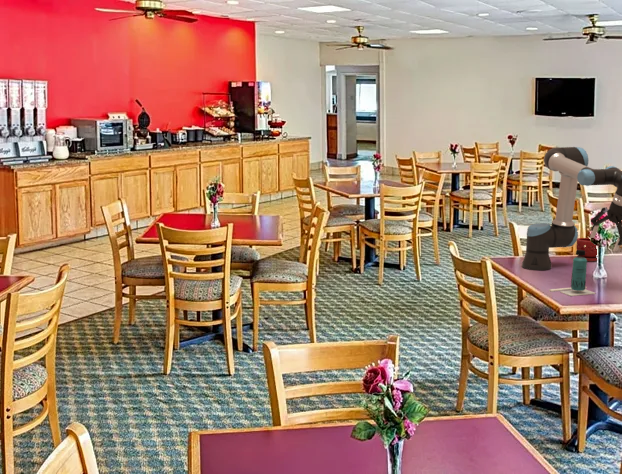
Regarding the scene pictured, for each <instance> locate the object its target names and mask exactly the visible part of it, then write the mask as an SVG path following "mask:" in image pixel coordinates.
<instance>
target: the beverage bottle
mask: <svg viewBox="0 0 622 474" xmlns="http://www.w3.org/2000/svg"><path fill="white" fill-rule="evenodd" d="M575 255H576V256H575V257H574V258H573V259H572V271H571V281H570V282H571V283H570V288H571V289H572V290H577V291H583V290H585V287H586V285H587V269H588V268H587V264H588V262H587V259H586V258H584V257H577V256H578V255H581V256H583V255H585V251H584V250H577V249H576V251H575Z"/></svg>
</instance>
